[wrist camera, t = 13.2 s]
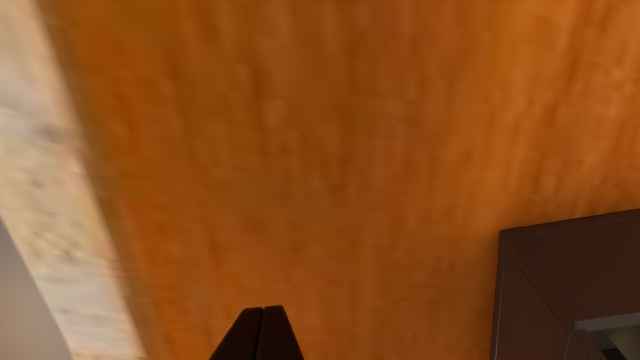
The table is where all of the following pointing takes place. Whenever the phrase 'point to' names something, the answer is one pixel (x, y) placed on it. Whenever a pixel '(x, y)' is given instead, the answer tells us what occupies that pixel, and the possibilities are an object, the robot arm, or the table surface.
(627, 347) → the block
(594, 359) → the case lid
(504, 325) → the case
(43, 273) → the table surface
